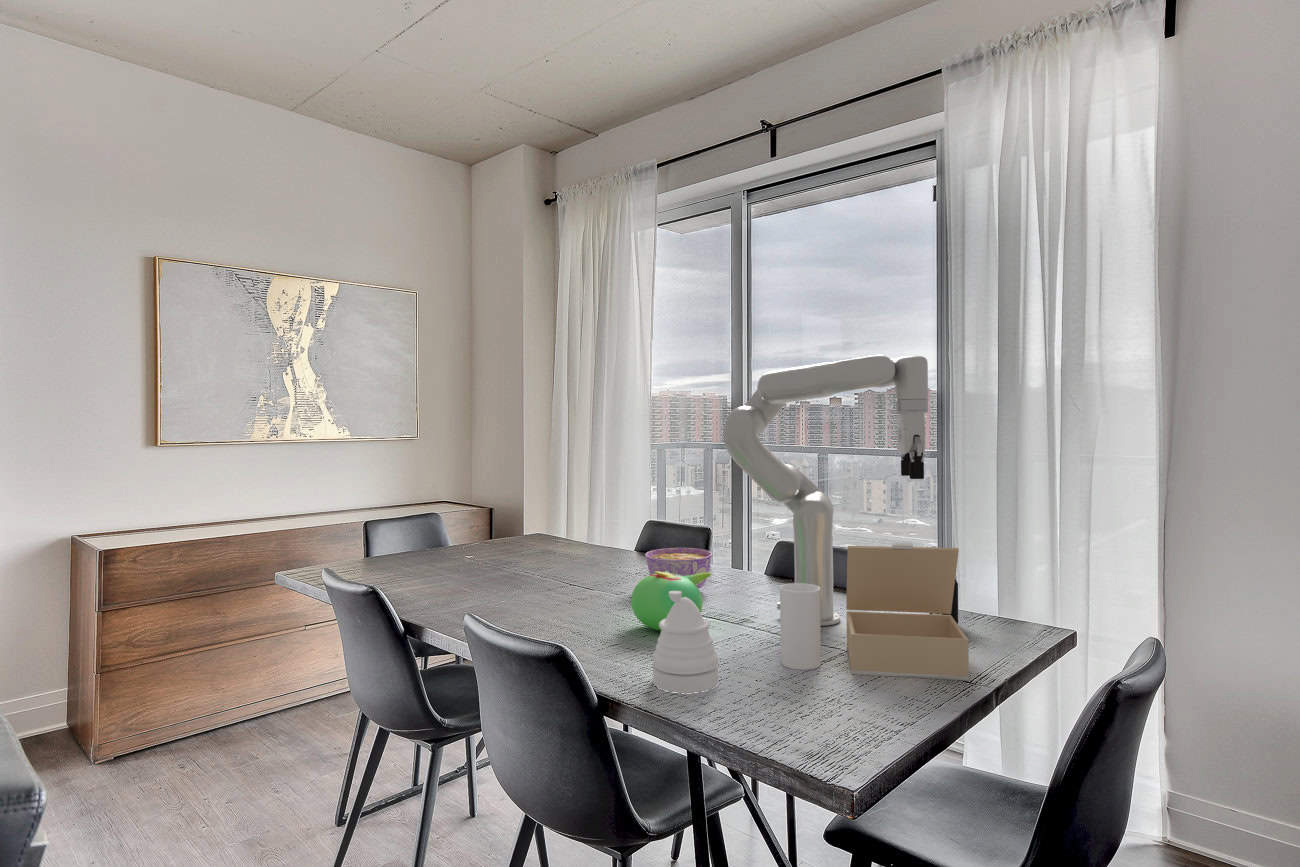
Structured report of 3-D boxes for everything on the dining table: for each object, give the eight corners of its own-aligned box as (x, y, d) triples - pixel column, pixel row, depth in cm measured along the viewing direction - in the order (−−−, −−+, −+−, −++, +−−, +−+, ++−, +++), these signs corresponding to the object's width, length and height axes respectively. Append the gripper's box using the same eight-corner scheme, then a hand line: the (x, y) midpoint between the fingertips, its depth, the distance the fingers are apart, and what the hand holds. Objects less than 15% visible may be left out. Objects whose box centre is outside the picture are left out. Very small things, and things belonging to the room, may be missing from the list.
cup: (812, 672, 149) (812, 593, 149) (774, 665, 154) (773, 589, 153) (826, 660, 156) (825, 585, 156) (789, 654, 161) (788, 581, 160)
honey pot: (669, 699, 136) (668, 602, 136) (642, 677, 148) (641, 587, 148) (730, 687, 142) (729, 594, 141) (699, 667, 153) (698, 581, 153)
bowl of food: (715, 600, 209) (714, 559, 209) (644, 601, 209) (644, 560, 209) (710, 584, 229) (710, 547, 229) (646, 585, 229) (645, 548, 229)
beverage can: (960, 629, 177) (960, 580, 177) (931, 628, 178) (931, 579, 178) (955, 622, 184) (955, 574, 183) (927, 621, 185) (927, 573, 185)
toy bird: (618, 630, 181) (617, 570, 181) (664, 615, 194) (663, 560, 193) (673, 644, 169) (672, 580, 169) (718, 628, 181) (718, 568, 181)
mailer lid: (848, 544, 156) (847, 542, 156) (846, 609, 165) (846, 607, 166) (959, 546, 151) (958, 544, 152) (950, 613, 161) (950, 611, 161)
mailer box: (851, 674, 148) (851, 634, 148) (846, 646, 166) (846, 611, 165) (968, 680, 143) (968, 639, 143) (951, 651, 161) (951, 615, 161)
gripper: (888, 407, 189) (889, 474, 189) (903, 407, 172) (903, 480, 172) (919, 407, 188) (919, 474, 188) (936, 406, 171) (937, 480, 171)
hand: (912, 477), depth 180 cm, fingers open, 9 cm apart
